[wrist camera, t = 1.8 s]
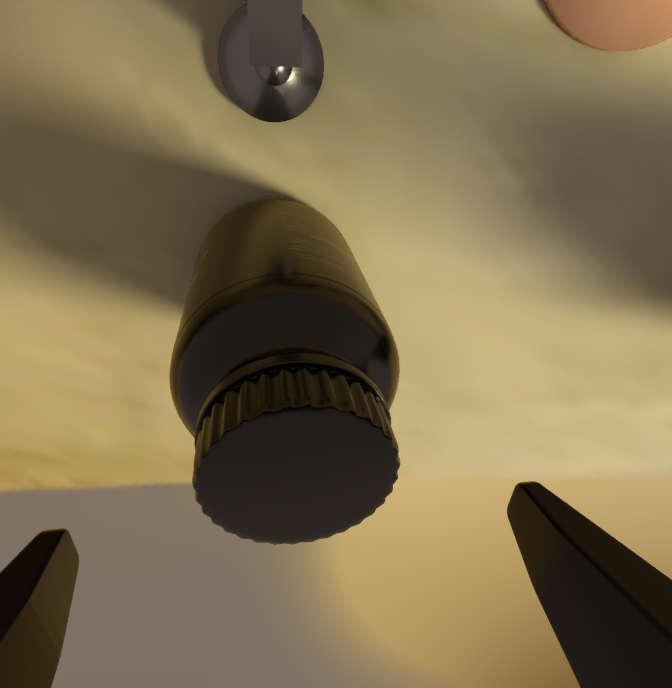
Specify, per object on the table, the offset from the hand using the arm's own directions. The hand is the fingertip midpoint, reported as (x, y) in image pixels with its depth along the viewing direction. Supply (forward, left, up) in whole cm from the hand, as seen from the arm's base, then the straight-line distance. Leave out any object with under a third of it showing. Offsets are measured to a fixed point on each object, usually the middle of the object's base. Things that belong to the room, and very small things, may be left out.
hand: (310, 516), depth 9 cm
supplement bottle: (0, 0, -13) cm, 13 cm away
